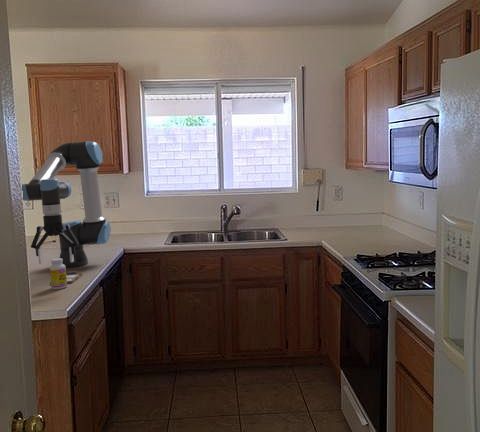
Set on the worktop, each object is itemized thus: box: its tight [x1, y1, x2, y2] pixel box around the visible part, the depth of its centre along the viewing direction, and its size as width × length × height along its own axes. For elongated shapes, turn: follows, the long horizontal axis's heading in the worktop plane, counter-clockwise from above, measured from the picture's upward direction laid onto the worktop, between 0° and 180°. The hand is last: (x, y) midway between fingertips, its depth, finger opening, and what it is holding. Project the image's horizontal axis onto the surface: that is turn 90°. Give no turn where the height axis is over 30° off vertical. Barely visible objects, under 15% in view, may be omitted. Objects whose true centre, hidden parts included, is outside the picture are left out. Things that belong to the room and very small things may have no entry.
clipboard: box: [49, 270, 83, 286], centre depth 243 cm, size 16×10×2 cm, turn 1°
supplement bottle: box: [49, 257, 68, 290], centre depth 228 cm, size 7×7×13 cm
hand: (56, 262), depth 227 cm, fingers open, 13 cm apart
